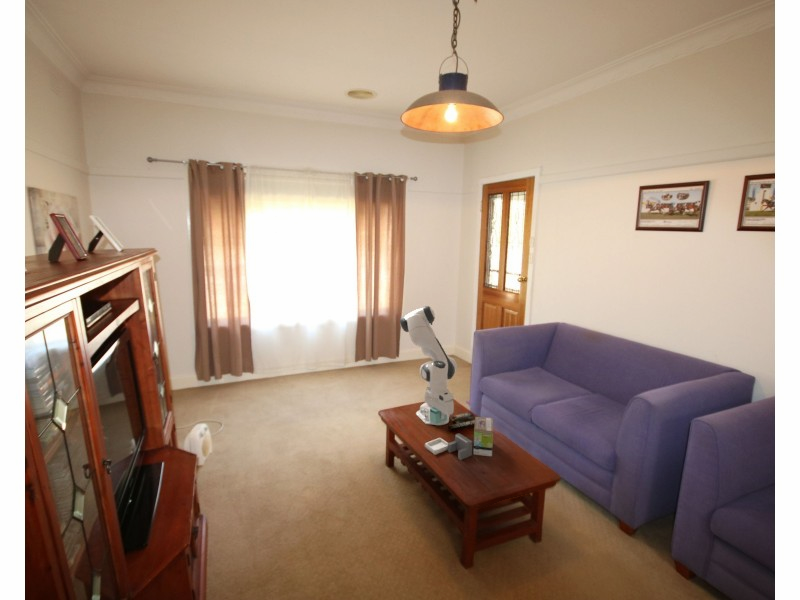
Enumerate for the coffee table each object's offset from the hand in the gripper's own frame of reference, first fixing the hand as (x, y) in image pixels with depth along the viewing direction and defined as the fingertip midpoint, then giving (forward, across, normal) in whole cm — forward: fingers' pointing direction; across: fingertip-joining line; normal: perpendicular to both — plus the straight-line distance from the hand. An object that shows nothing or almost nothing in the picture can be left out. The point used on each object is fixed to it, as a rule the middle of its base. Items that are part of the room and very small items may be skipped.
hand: (438, 416), depth 212 cm
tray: (+18, 0, 0) cm, 19 cm away
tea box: (+19, +14, +20) cm, 31 cm away
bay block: (+19, +10, +6) cm, 22 cm away
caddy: (+2, 0, 0) cm, 2 cm away
